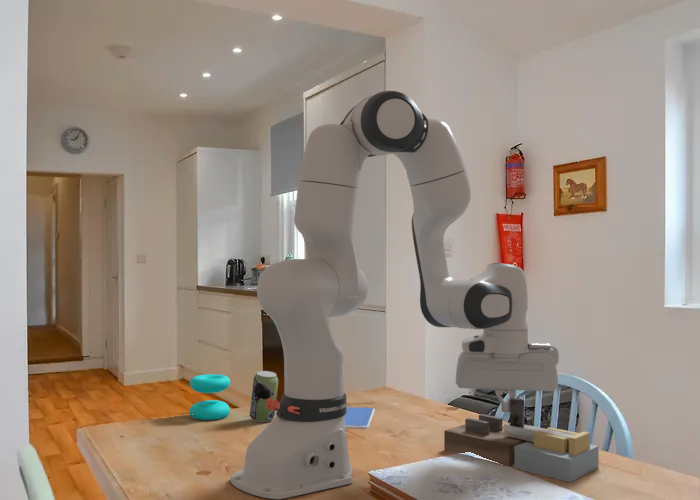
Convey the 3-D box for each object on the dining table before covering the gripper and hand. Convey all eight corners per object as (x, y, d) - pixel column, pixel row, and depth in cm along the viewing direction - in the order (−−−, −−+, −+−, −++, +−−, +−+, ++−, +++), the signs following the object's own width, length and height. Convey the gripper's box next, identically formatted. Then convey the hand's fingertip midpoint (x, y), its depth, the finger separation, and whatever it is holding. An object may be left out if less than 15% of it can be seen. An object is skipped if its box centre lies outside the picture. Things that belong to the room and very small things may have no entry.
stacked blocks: (570, 482, 110) (570, 442, 110) (514, 467, 118) (514, 430, 118) (598, 467, 119) (598, 430, 119) (544, 454, 127) (544, 420, 127)
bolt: (571, 450, 115) (571, 410, 115) (504, 435, 125) (504, 399, 125) (578, 447, 117) (578, 408, 117) (511, 432, 127) (511, 397, 127)
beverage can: (261, 416, 157) (262, 368, 158) (283, 420, 153) (284, 371, 153) (243, 421, 152) (244, 371, 153) (265, 425, 148) (266, 375, 148)
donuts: (234, 378, 154) (192, 381, 151) (233, 419, 154) (192, 422, 150) (226, 372, 164) (187, 374, 160) (225, 410, 163) (186, 413, 160)
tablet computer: (368, 431, 146) (368, 425, 146) (315, 429, 147) (315, 423, 148) (375, 412, 165) (375, 407, 165) (328, 411, 167) (328, 406, 167)
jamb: (508, 466, 119) (508, 432, 119) (444, 449, 129) (444, 418, 130) (539, 453, 127) (539, 421, 128) (476, 439, 138) (476, 409, 138)
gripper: (556, 342, 129) (556, 409, 128) (455, 340, 132) (455, 406, 132) (561, 346, 122) (561, 417, 122) (455, 343, 126) (455, 412, 125)
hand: (505, 411), depth 127 cm, fingers closed
